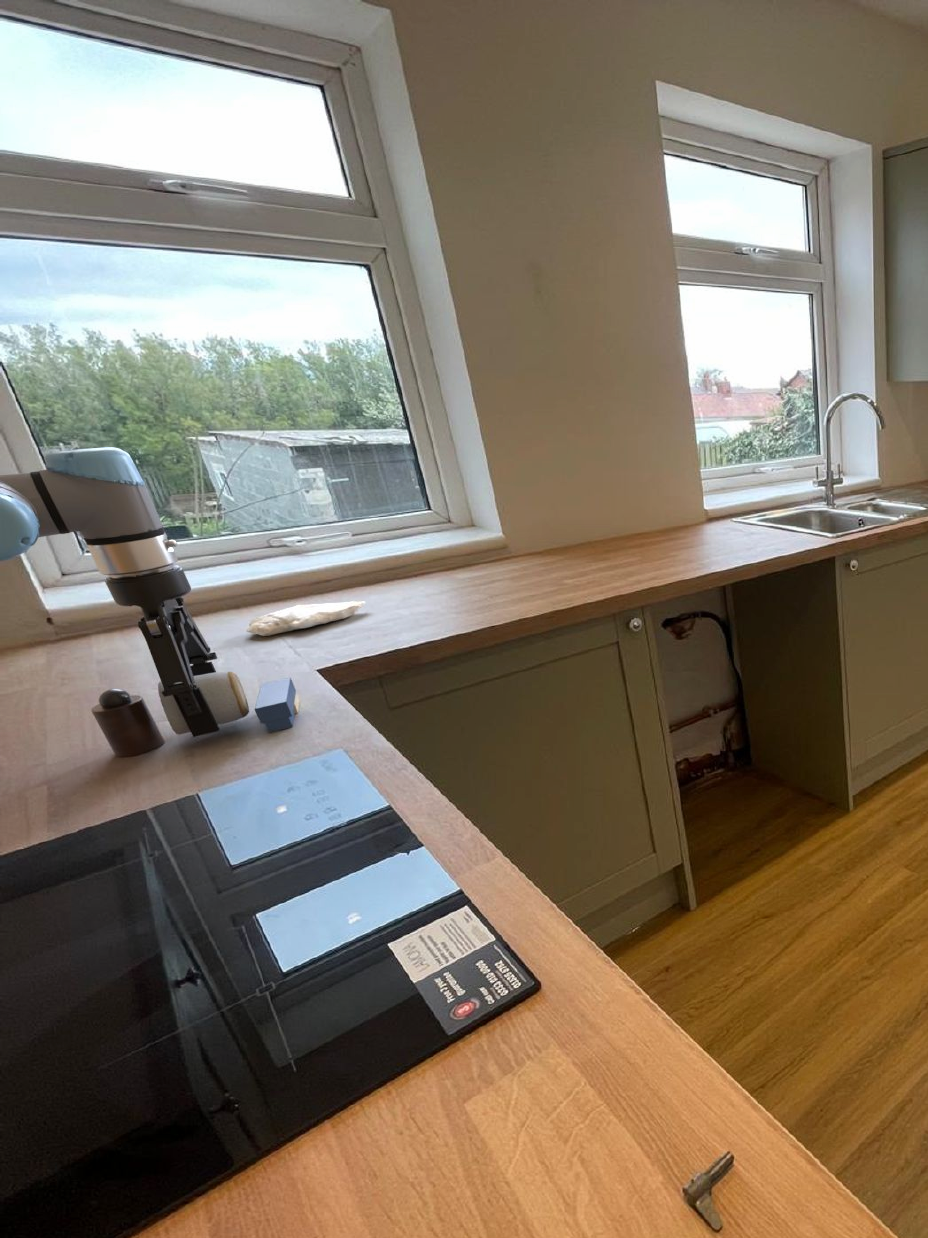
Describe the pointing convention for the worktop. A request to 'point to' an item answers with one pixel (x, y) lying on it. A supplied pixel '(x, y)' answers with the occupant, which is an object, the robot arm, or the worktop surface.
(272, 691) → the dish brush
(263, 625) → the rock
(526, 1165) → the worktop surface
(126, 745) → the pepper mill
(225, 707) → the white canister
